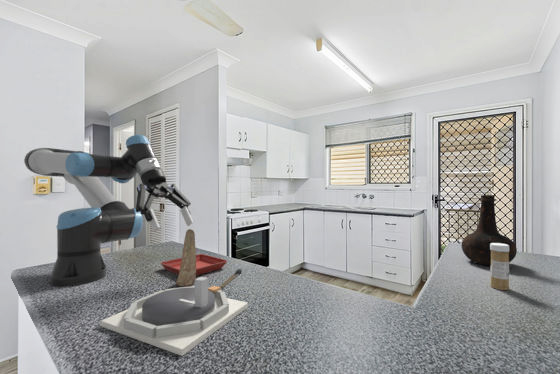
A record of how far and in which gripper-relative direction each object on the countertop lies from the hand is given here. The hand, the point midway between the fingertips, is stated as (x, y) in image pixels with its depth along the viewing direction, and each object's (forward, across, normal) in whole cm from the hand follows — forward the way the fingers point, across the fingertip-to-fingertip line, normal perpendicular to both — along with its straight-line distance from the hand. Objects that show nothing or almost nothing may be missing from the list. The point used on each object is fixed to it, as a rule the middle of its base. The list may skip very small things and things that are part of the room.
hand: (174, 226), depth 88 cm
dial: (+25, -17, -9) cm, 32 cm away
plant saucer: (+13, +12, +13) cm, 22 cm away
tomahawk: (+25, +8, -4) cm, 27 cm away
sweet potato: (+18, 0, +5) cm, 19 cm away
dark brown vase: (+68, +74, -70) cm, 123 cm away
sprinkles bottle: (+66, +42, -68) cm, 104 cm away
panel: (+26, -17, -8) cm, 32 cm away
